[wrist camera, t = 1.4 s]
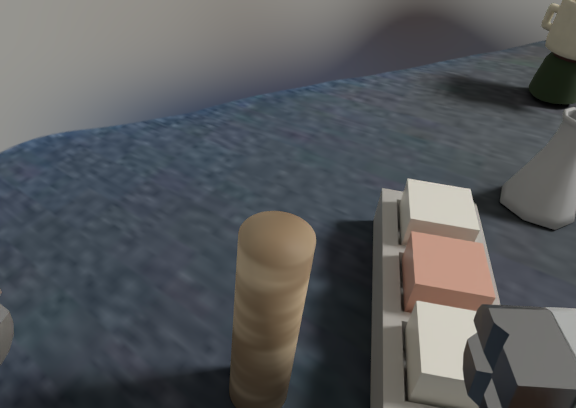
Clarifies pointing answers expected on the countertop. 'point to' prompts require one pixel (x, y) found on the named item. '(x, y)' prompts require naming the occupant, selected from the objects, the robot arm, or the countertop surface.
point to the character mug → (558, 57)
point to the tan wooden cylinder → (268, 306)
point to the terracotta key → (445, 272)
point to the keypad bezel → (393, 307)
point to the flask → (547, 181)
